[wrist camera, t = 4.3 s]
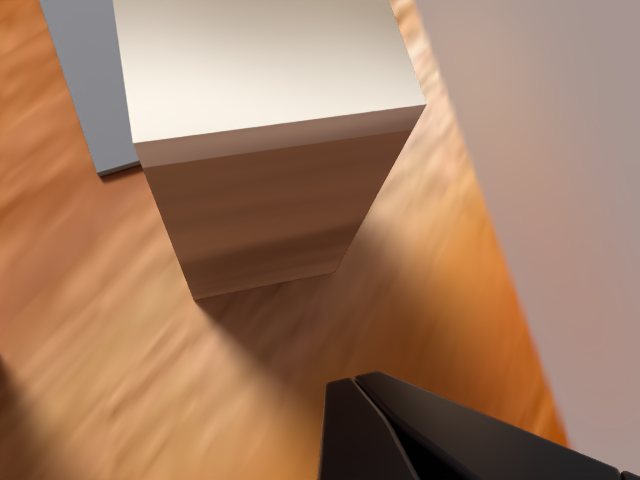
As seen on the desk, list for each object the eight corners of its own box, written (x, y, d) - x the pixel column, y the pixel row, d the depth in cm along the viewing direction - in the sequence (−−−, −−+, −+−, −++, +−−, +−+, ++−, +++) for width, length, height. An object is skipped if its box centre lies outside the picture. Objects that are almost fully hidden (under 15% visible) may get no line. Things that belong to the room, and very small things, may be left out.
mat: (347, 103, 21) (348, 98, 21) (99, 176, 18) (97, 172, 18) (265, -54, 23) (266, -60, 23) (36, -9, 21) (34, -15, 20)
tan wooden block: (334, 272, 18) (426, 104, 9) (193, 300, 17) (132, 143, 8) (303, 151, 20) (353, -96, 11) (172, 171, 19) (100, -86, 10)
